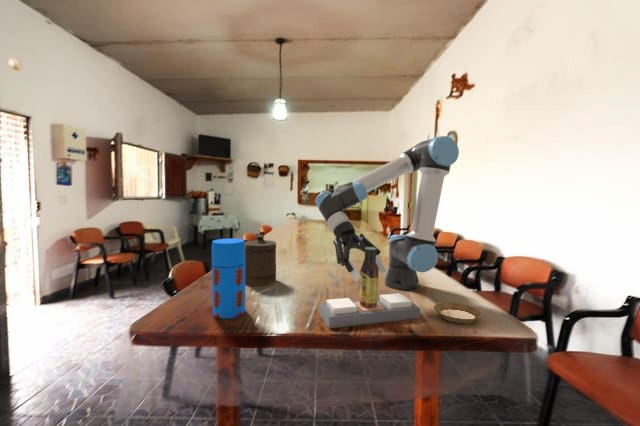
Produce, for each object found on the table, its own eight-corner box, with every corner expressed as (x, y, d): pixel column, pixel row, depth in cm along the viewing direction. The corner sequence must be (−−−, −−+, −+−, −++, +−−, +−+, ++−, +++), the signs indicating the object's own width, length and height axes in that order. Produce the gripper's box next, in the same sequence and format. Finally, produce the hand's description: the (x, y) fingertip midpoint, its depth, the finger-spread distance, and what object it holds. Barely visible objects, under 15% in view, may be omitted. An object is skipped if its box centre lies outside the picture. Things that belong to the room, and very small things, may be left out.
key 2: (399, 300, 112) (399, 293, 112) (411, 308, 104) (411, 301, 104) (379, 301, 110) (379, 295, 109) (390, 310, 102) (390, 303, 102)
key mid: (374, 306, 109) (374, 300, 109) (384, 315, 102) (385, 308, 101) (353, 308, 107) (353, 301, 107) (362, 318, 99) (362, 310, 99)
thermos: (227, 321, 98) (226, 244, 96) (205, 314, 104) (204, 241, 102) (251, 310, 107) (251, 240, 106) (230, 304, 113) (230, 237, 111)
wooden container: (282, 279, 144) (282, 233, 143) (261, 288, 132) (261, 237, 130) (258, 275, 152) (258, 231, 150) (236, 282, 139) (236, 234, 138)
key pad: (401, 304, 114) (401, 295, 114) (419, 318, 103) (420, 307, 103) (318, 313, 106) (319, 303, 106) (329, 328, 94) (329, 317, 94)
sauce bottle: (357, 301, 107) (358, 245, 106) (374, 301, 108) (376, 245, 106) (361, 308, 101) (363, 249, 99) (380, 308, 101) (381, 249, 100)
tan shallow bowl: (426, 309, 111) (426, 302, 111) (465, 308, 112) (465, 301, 112) (446, 327, 97) (446, 319, 96) (490, 326, 98) (491, 318, 98)
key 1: (348, 304, 106) (348, 297, 106) (356, 313, 99) (357, 306, 99) (326, 306, 104) (326, 299, 104) (333, 316, 97) (333, 308, 96)
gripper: (358, 230, 123) (388, 275, 113) (310, 236, 107) (339, 289, 96) (369, 218, 118) (400, 263, 108) (320, 222, 102) (352, 276, 92)
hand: (372, 275), depth 102 cm, fingers open, 13 cm apart
